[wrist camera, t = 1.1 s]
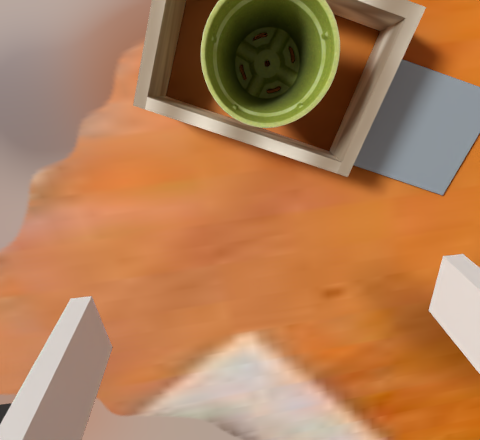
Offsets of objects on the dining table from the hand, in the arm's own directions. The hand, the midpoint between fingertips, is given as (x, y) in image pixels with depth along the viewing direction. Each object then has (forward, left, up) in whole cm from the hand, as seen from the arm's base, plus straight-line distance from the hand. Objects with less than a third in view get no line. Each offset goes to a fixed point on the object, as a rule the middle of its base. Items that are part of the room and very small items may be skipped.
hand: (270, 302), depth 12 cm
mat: (-13, -8, -23) cm, 27 cm away
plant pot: (+3, -9, -23) cm, 25 cm away
